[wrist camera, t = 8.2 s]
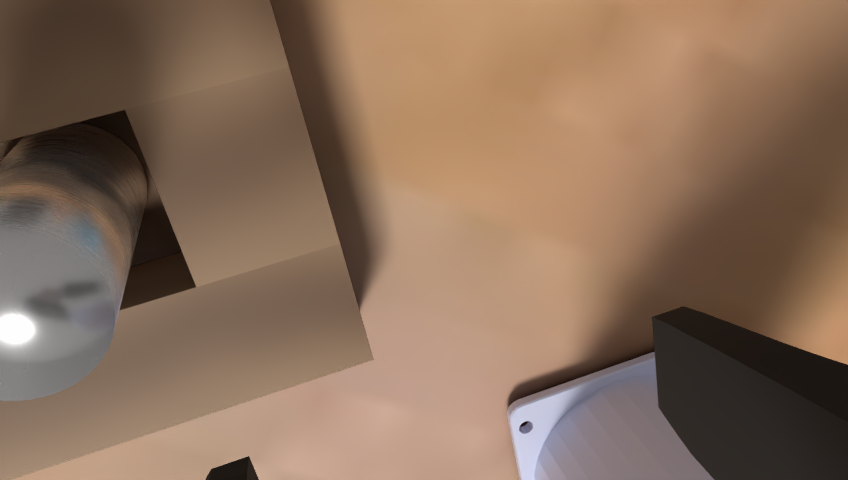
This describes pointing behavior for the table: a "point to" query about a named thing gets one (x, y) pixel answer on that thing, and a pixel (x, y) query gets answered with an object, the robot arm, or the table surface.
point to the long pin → (64, 254)
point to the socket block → (185, 216)
